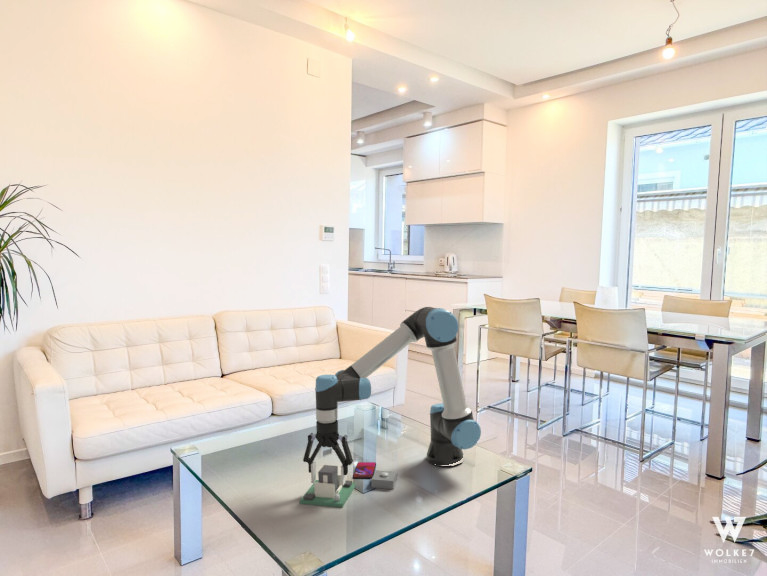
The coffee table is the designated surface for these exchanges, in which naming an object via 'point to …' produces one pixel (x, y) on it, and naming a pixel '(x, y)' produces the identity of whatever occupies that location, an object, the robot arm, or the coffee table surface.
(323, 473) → the plug
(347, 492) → the board
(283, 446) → the coffee table surface
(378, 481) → the grey button box
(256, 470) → the coffee table surface
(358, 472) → the smartphone
